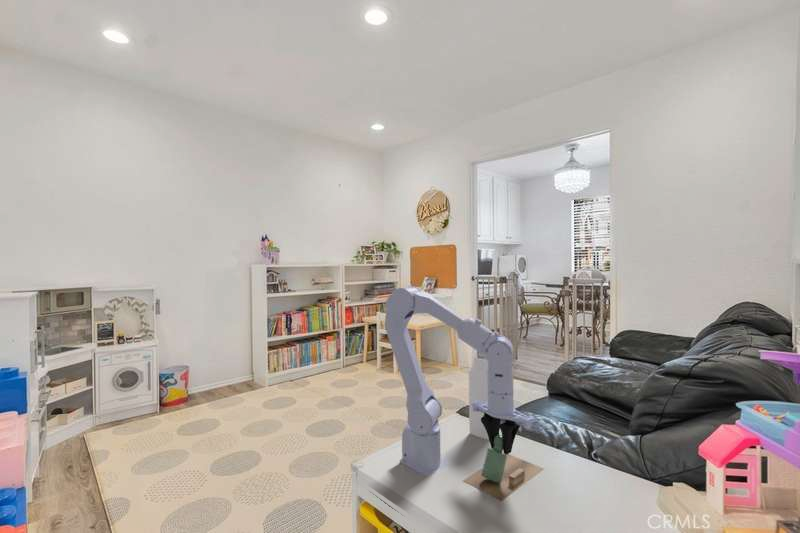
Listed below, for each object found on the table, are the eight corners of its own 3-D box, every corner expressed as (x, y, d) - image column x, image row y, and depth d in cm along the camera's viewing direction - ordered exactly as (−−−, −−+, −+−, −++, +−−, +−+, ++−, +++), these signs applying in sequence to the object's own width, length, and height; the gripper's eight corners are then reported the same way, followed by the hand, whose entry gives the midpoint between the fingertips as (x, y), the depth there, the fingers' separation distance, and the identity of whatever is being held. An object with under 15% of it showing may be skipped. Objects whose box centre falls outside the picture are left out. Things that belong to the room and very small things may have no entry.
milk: (487, 442, 104) (486, 362, 104) (469, 435, 108) (468, 359, 108) (498, 434, 108) (497, 358, 108) (480, 428, 112) (479, 355, 112)
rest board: (462, 483, 84) (462, 472, 84) (506, 455, 96) (506, 446, 96) (501, 503, 77) (501, 492, 77) (543, 471, 89) (543, 460, 89)
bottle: (477, 473, 83) (488, 430, 86) (487, 475, 86) (498, 433, 89) (494, 482, 80) (505, 436, 83) (504, 484, 83) (514, 440, 86)
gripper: (538, 394, 83) (539, 455, 83) (484, 380, 94) (485, 434, 94) (522, 402, 78) (523, 467, 78) (466, 386, 89) (467, 443, 89)
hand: (501, 450), depth 86 cm, fingers closed on bottle, 3 cm apart
